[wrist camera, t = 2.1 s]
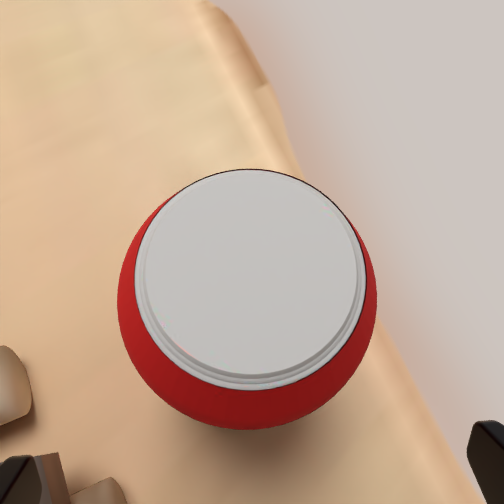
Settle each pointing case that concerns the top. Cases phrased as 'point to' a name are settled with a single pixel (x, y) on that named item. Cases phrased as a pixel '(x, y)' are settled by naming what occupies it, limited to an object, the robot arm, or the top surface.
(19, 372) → the roller
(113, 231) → the top surface
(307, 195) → the beverage can
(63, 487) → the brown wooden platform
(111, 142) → the top surface
